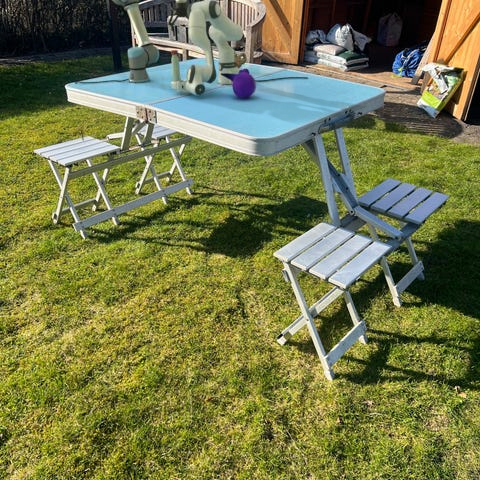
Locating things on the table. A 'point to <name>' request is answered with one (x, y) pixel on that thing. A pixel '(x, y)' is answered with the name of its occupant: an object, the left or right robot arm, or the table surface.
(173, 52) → the cap
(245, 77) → the toy
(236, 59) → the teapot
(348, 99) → the table surface
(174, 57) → the bottle
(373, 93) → the table surface
